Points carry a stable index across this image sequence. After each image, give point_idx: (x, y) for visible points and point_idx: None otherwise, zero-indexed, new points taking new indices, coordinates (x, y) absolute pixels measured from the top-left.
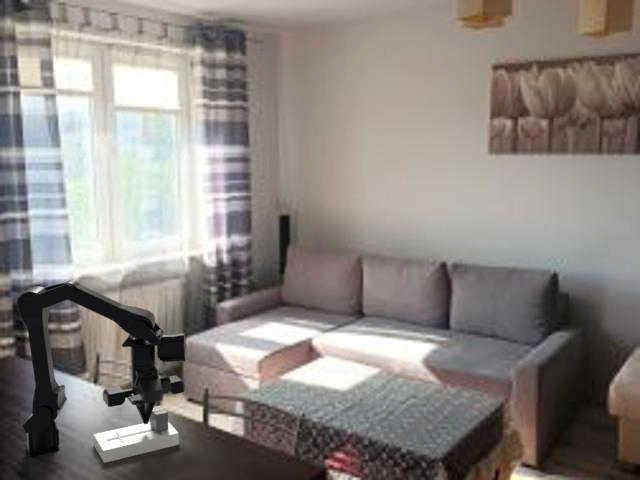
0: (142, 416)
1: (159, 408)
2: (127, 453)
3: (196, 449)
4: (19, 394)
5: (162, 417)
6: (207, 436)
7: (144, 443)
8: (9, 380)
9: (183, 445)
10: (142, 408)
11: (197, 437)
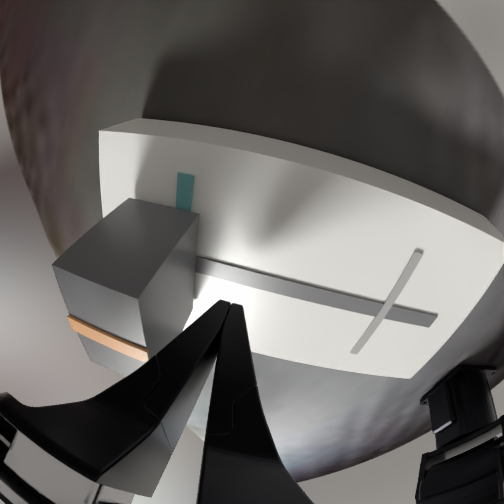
0: (248, 358)
1: (101, 348)
2: (411, 186)
3: (104, 41)
4: (314, 472)
5: (106, 257)
6: (44, 131)
7: (323, 164)
8: (298, 481)
9: (126, 105)
10: (233, 427)
11: (67, 144)
